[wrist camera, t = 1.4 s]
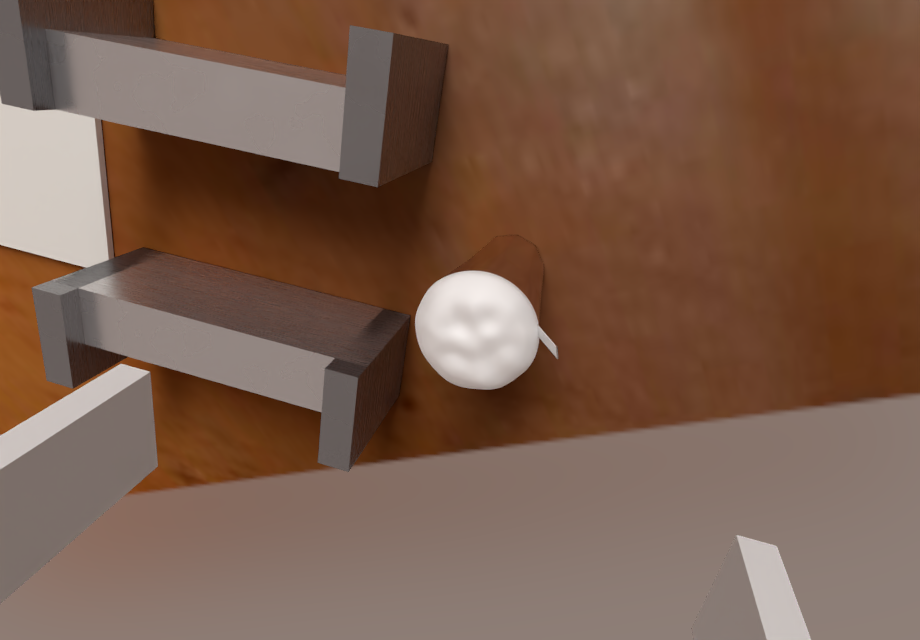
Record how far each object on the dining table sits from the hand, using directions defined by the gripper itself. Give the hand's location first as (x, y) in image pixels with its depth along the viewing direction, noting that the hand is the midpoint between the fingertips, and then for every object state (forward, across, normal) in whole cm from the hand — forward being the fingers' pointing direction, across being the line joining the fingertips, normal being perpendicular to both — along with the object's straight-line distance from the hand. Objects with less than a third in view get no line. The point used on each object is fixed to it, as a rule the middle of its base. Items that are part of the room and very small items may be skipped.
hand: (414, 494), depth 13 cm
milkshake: (+17, 0, 0) cm, 17 cm away
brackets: (+17, +13, 0) cm, 21 cm away
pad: (+17, +29, 0) cm, 34 cm away
